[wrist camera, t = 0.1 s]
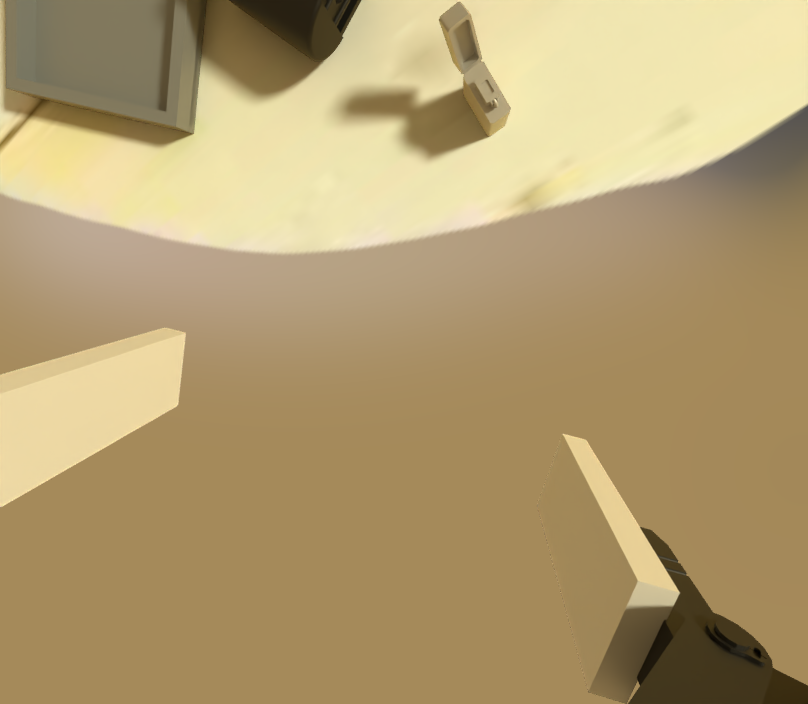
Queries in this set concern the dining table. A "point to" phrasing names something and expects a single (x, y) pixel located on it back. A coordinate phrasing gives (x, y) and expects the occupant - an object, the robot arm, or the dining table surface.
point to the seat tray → (109, 56)
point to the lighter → (474, 70)
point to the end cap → (304, 22)
